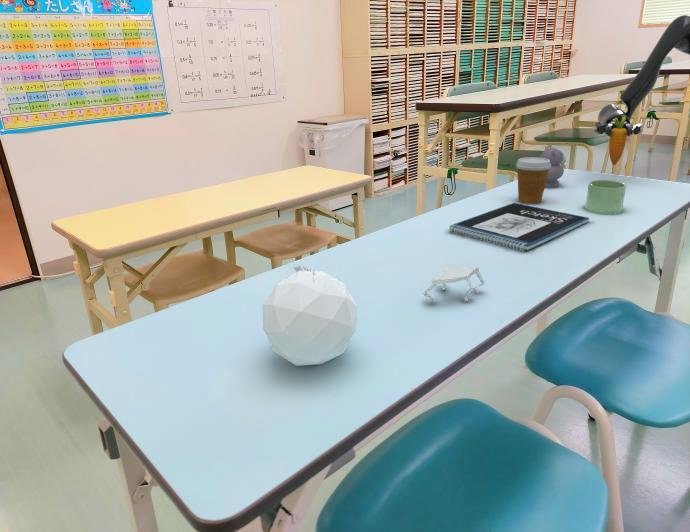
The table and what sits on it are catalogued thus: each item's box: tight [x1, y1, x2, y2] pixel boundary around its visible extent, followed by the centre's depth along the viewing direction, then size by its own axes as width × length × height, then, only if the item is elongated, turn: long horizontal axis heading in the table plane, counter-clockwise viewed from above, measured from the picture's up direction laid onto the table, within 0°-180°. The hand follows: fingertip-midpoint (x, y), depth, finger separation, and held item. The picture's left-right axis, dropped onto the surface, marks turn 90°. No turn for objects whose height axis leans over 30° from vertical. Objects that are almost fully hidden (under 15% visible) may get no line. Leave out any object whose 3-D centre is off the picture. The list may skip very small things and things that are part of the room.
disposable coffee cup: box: [515, 156, 551, 205], centre depth 149 cm, size 10×10×12 cm
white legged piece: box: [422, 265, 486, 304], centre depth 95 cm, size 12×8×5 cm
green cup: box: [585, 179, 627, 215], centre depth 140 cm, size 9×9×7 cm
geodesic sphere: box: [262, 265, 358, 367], centre depth 77 cm, size 15×14×14 cm
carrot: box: [608, 116, 628, 166], centre depth 160 cm, size 5×5×15 cm
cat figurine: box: [540, 145, 565, 189], centre depth 165 cm, size 8×8×12 cm
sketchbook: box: [448, 202, 590, 252], centre depth 130 cm, size 22×30×2 cm
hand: (619, 132), depth 157 cm, fingers closed on carrot, 4 cm apart
